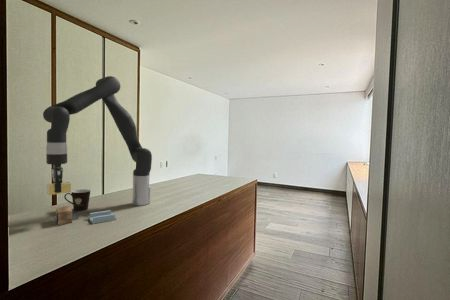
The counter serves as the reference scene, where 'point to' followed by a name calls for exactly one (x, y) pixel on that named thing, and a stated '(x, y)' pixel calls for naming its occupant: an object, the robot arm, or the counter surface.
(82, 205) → the coffee mug
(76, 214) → the drift
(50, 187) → the yellow rectangular block
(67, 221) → the brown wooden block
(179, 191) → the counter surface
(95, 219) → the cradle
